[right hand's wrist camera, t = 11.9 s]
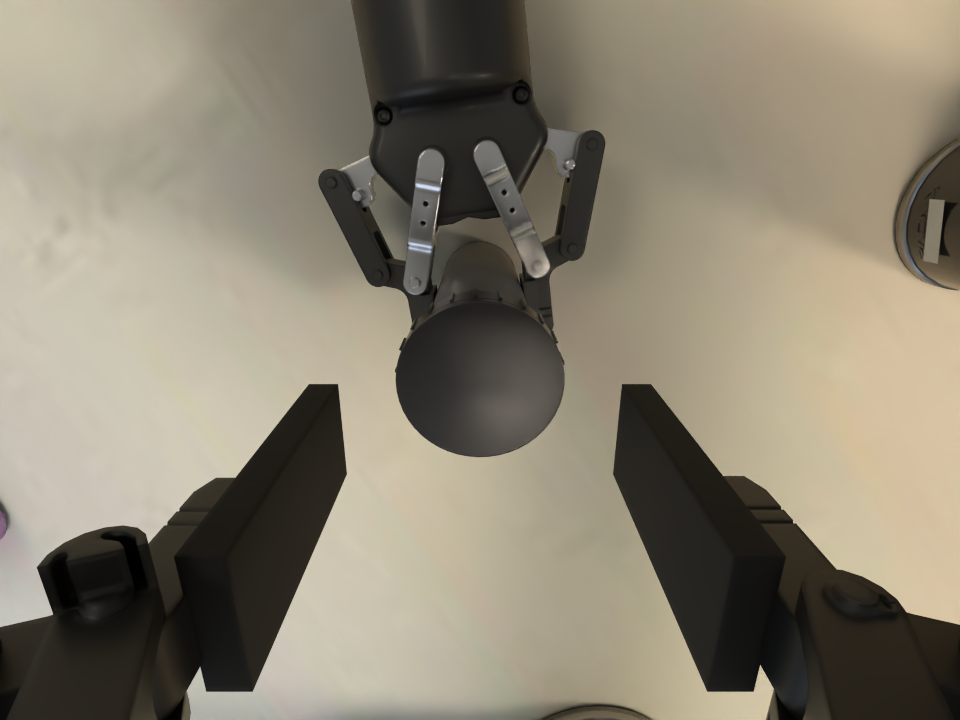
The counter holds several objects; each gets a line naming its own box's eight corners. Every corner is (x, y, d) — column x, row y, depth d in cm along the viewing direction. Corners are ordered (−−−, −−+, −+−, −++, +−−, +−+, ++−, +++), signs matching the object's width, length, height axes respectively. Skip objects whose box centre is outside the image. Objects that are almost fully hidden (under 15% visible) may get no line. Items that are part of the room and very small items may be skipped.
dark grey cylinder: (530, 279, 34) (575, 380, 18) (478, 326, 35) (478, 462, 19) (481, 226, 33) (482, 283, 17) (429, 276, 34) (383, 376, 18)
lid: (592, 368, 19) (602, 385, 17) (477, 464, 20) (477, 488, 19) (483, 252, 18) (483, 260, 16) (367, 364, 19) (357, 381, 17)
